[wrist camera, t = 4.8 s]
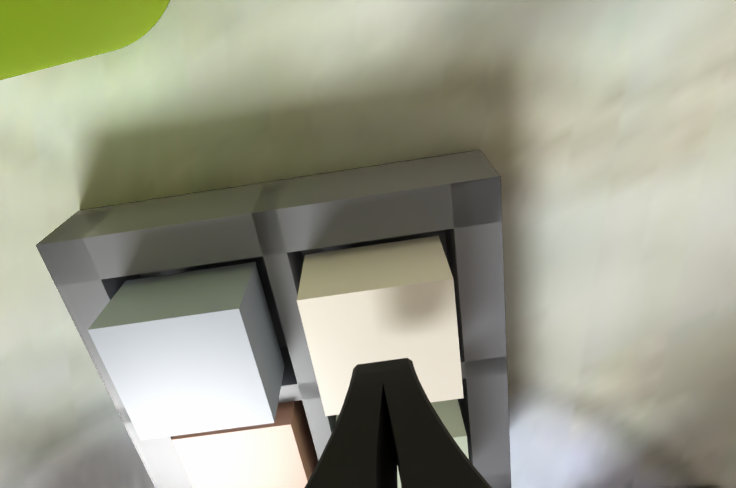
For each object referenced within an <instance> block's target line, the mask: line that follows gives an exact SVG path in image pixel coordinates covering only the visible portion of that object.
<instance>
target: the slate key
mask: <svg viewBox="0 0 736 488" xmlns="http://www.w3.org/2000/svg"><path fill="white" fill-rule="evenodd" d="M88 332H89V334H90V336H91V338H92V340H93V342H94V344H95V346H96V348H97V351H98V353H99V355H100V357H101V359H102V361H103V363H104V365H105V367H106V369H107V371H108V373H109V376H110V378H111V380H112V382H113V384H114V386H115V388H116V390H117V392H118V394H119V396H120V398H121V400H122V403H123V405H124V407H125V409H126V411H127V413H128V415H129V417H130V419H131V421H132V423H133V425H134V428H135V430H136V432H137V434H138V436H139V438H140V440H147V439H155V438H163V437H170V436H178V435H186V434H193V433H201V432H209V431H216V430H224V429H232V428H239V427H247V426H255V425H262V424H270V423H275V417H276V412H277V406H278V401H279V395H280V390H281V384H282V379H283V373H284V368H285V365H284V362H283V358H282V355H281V351H280V347H279V344H278V340H277V337H276V333H275V330H274V326H273V323H272V319H271V315H270V312H269V308H268V305H267V301H266V298H265V294H264V290H263V287H262V283H261V280H260V276H259V273H258V269H257V266H256V262H252V263H245V264H238V265H231V266H224V267H217V268H210V269H203V270H196V271H189V272H183V273H176V274H169V275H162V276H155V277H148V278H141V279H134V280H127V281H125V282H124V284H123V285H122V286H121V288H120V289H119V290H118V291H117V293H116V294H115V295H114V297H113V298H112V299H111V300H110V302H109V303H108V304H107V306H106V307H105V308H104V309H103V311H102V312H101V313H100V315H99V316H98V317H97V318H96V320H95V321H94V322H93V324H92V325H91V326H90V327H89V329H88Z"/></svg>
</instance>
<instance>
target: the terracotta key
mask: <svg viewBox="0 0 736 488" xmlns="http://www.w3.org/2000/svg"><path fill="white" fill-rule="evenodd" d="M172 442H173V444H174V446H175V448H176V451H177V453H178V455H179V457H180V460H181V462H182V464H183V466H184V469H185V471H186V473H187V476H188V478H189V480H190V482H191V485H192V487H193V488H305V486H306V484H307V482H308V480H309V479H310V477H311V475H312V473H313V471H314V469H315V467H316V465H317V463H318V457H317V454H316V450H315V446H314V443H313V439H312V435H311V431H310V428H309V424H308V420H307V417H306V413H305V409H304V406H303V402H302V400H299V401H291V402H284V403H278V406H277V412H276V417H275V423H270V424H262V425H255V426H247V427H239V428H232V429H224V430H216V431H209V432H201V433H193V434H186V435H178V436H173V438H172Z"/></svg>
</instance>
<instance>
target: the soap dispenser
mask: <svg viewBox="0 0 736 488" xmlns="http://www.w3.org/2000/svg"><path fill="white" fill-rule="evenodd" d="M169 1H170V0H0V80H3V79H6V78H10V77H14V76H18V75H22V74H26V73H29V72H33V71H37V70H41V69H45V68H49V67H52V66H56V65H60V64H64V63H68V62H72V61H75V60H79V59H83V58H87V57H91V56H95V55H98V54H102V53H106V52H110V51H114V50H117V49H120V48H123V47H125V46H127V45H129V44H131V43H133V42H135V41H136V40H138V39H139V38H141V37H142V36H143V35H145V34H146V33H147V32H148V31H149V30H150V29H151V28H152V27H153V26H154V25H155V24H156V23H157V21H158V20H159V19H160V17H161V16H162V14H163V13H164V11H165V9H166V7H167V5H168V3H169Z"/></svg>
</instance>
